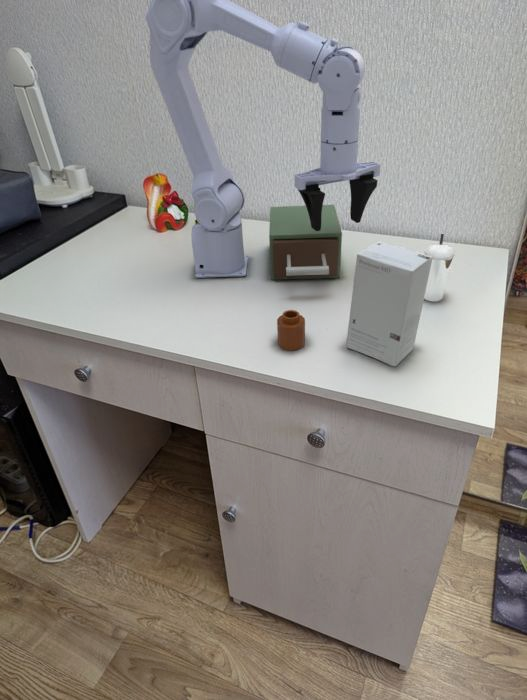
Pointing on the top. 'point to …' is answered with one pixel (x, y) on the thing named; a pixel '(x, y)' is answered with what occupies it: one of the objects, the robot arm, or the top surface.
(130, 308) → the top surface
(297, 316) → the spice bottle
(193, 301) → the top surface
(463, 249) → the top surface
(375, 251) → the cosmetic box
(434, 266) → the milkshake
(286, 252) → the drawer
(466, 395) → the top surface
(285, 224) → the cabinet
